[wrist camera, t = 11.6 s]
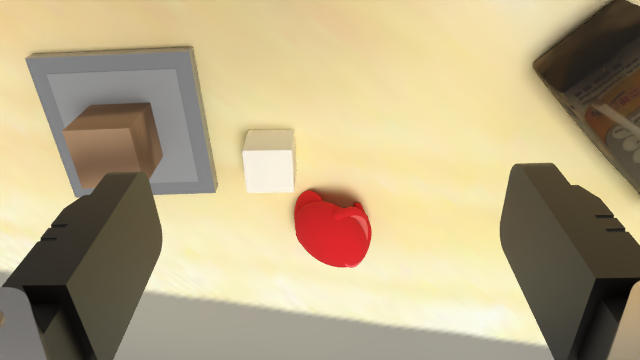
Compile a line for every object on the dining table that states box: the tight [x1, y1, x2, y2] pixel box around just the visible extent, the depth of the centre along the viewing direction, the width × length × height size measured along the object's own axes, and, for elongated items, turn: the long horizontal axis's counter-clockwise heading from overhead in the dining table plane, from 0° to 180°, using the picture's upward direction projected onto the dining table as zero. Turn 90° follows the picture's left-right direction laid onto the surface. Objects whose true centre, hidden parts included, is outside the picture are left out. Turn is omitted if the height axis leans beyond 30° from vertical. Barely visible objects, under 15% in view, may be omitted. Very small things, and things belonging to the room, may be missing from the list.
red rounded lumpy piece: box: [294, 191, 371, 268], centre depth 45 cm, size 8×6×6 cm
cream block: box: [242, 130, 296, 193], centre depth 42 cm, size 4×4×4 cm
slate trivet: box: [25, 47, 218, 197], centre depth 42 cm, size 13×13×1 cm
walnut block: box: [62, 102, 163, 189], centre depth 39 cm, size 5×5×5 cm
